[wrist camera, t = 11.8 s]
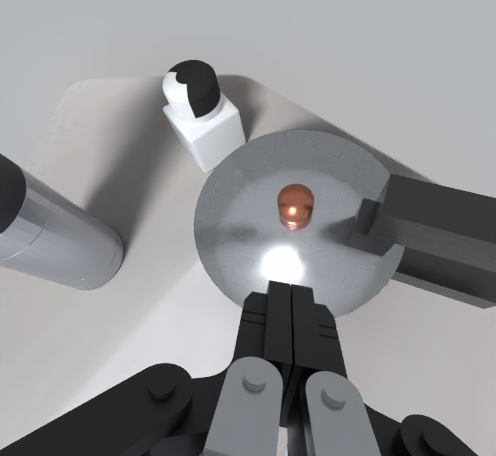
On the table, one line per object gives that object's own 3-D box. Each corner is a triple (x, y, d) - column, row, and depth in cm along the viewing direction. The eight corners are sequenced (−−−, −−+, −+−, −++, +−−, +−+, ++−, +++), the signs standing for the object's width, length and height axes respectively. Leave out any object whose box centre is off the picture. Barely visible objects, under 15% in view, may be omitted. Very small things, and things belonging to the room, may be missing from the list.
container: (219, 116, 50) (196, 41, 38) (247, 146, 47) (232, 75, 35) (180, 142, 49) (143, 75, 37) (206, 174, 46) (175, 112, 34)
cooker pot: (204, 296, 39) (173, 277, 29) (254, 178, 45) (243, 127, 35) (432, 387, 33) (494, 402, 22) (459, 234, 38) (519, 191, 28)
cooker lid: (166, 281, 29) (116, 253, 21) (239, 123, 35) (223, 52, 27) (512, 414, 22) (641, 450, 14) (533, 187, 28) (633, 118, 20)
